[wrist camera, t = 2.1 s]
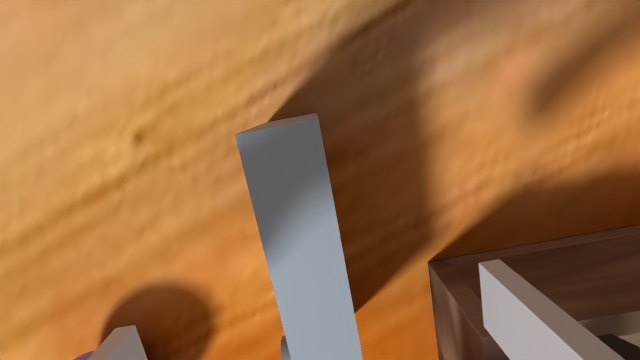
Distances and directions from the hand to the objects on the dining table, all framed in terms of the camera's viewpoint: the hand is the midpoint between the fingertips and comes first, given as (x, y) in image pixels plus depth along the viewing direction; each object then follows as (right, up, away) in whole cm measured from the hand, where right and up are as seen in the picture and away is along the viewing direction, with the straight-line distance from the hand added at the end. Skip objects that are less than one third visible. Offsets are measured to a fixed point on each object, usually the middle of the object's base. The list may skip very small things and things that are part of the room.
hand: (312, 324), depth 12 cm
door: (0, +3, +9) cm, 9 cm away
